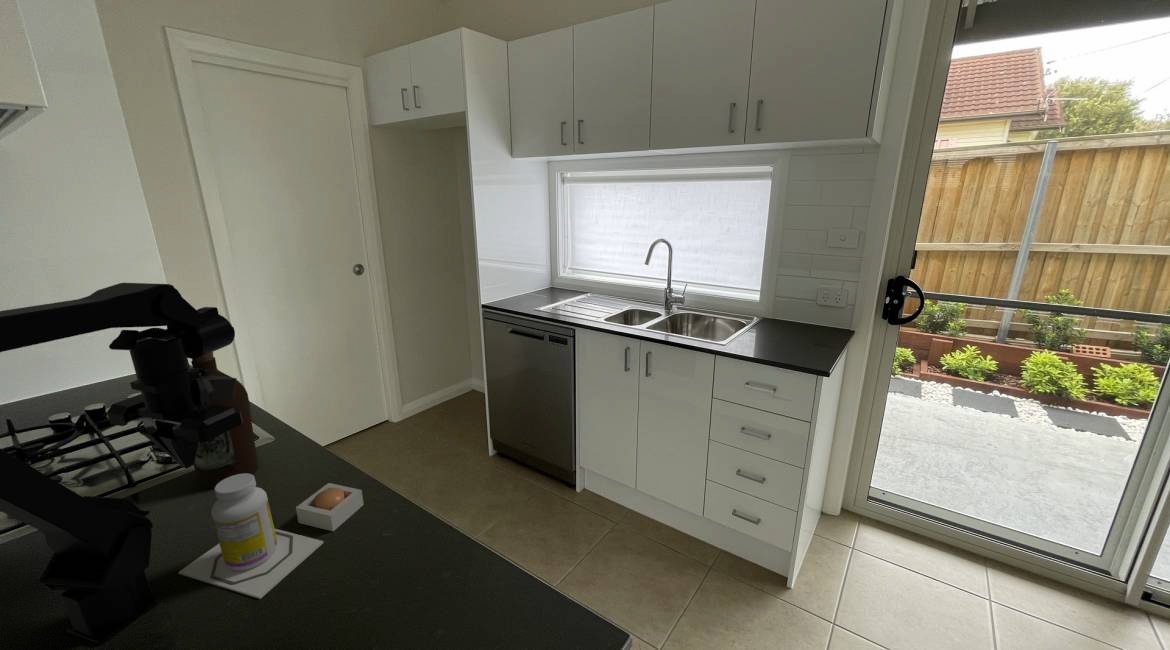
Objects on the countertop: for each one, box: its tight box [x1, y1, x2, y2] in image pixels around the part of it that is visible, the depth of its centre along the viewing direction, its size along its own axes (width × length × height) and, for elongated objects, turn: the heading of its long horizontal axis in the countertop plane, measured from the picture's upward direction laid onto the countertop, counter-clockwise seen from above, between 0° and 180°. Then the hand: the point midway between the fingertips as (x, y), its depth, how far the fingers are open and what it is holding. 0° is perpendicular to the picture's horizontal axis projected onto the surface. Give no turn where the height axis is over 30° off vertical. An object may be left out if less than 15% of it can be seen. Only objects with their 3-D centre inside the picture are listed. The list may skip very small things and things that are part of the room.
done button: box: [314, 488, 345, 511], centre depth 80 cm, size 4×4×2 cm
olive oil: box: [190, 351, 259, 489], centre depth 88 cm, size 11×11×25 cm
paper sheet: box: [177, 528, 324, 600], centre depth 71 cm, size 11×15×1 cm
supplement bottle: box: [211, 473, 277, 570], centre depth 69 cm, size 7×7×13 cm
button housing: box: [295, 482, 364, 532], centre depth 81 cm, size 7×7×3 cm
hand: (188, 466), depth 71 cm, fingers closed
